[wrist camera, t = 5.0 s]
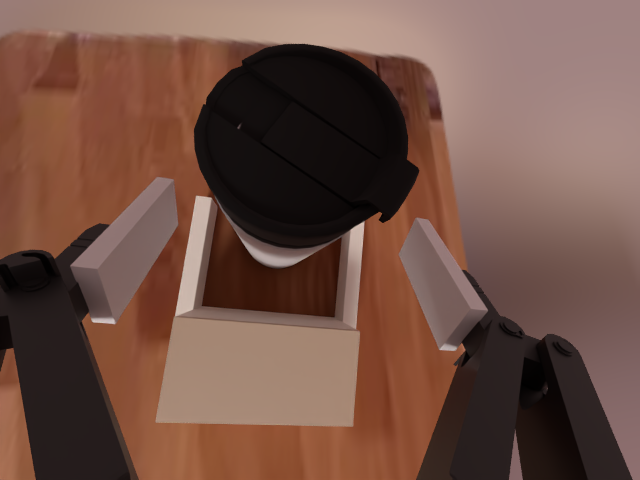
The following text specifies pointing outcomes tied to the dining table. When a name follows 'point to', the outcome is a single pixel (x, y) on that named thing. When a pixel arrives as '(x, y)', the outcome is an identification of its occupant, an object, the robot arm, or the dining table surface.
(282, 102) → the travel mug
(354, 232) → the beige u-shaped block
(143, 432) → the dining table surface
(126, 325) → the dining table surface
